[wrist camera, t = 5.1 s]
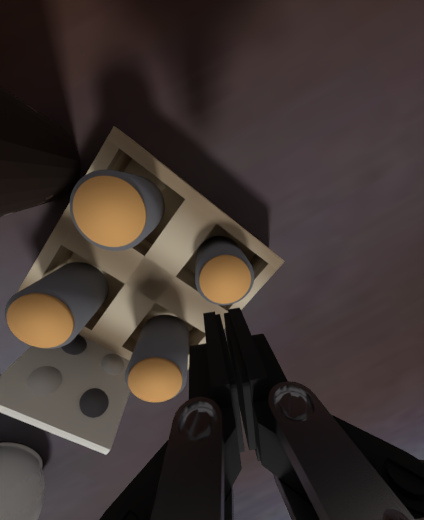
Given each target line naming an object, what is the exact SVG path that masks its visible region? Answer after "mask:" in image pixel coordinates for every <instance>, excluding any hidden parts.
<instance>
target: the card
mask: <svg viewBox="0 0 424 520" xmlns="http://www.w3.org/2000/svg"><path fill="white" fill-rule="evenodd" d="M128 364H129V360H127V359H125V358H123V357H122V356H120V355H118V354H116V353H114V352H112V351H110V350H108V349H106V348H104V347H103V346H101V345H99V344H97V343H95V342H93V341H91V340H89V339H87V338H85V337H83V336H82V335H80V334H78V335H77V336H76V337H75V338H74V340H72V341H71V342H70V343H69V344H67V345H65V346H62V347H59V348H53V349H46V348H39V347H34V346H31V347H30V348H29V349H28V350H27V351H26V352H25V353H24V354H23V355H22V356H21V357H20V358H19V359H18V360H17V361H16V362H14V363H13V364H12V365H11V366H10V367H9V368H8V369H7V370H6V371H5V372H4V373H3V374H2V375H1V376H0V413H3V414H5V415H8V416H10V417H13V418H15V419H18V420H20V421H23V422H25V423H28V424H30V425H33V426H35V427H38V428H40V429H43V430H45V431H48V432H50V433H53V434H55V435H58V436H60V437H63V438H65V439H68V440H70V441H73V442H75V443H78V444H80V445H83V446H85V447H88V448H90V449H93V450H95V451H98V452H100V453H103V454H105V455H107V454H108V452H109V451H110V450H111V447H112V444H113V441H114V438H115V435H116V432H117V429H118V426H119V423H120V420H121V417H122V414H123V411H124V408H125V405H126V402H127V399H128V396H129V393H130V390H129V389H128V387H127V385H126V383H125V371H126V369H127V366H128Z"/></svg>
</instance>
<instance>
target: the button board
mask: <svg viewBox="0 0 424 520" xmlns="http://www.w3.org/2000/svg"><path fill="white" fill-rule="evenodd" d="M105 169H107V170H115V171H120V172H125V173H130V174H135V175H139V176H143V177H145V178H147V179H149V180H150V181H152V182H153V183H154V184H155V185H156V186H157V187H158V188H159V190H160V192H161V193H162V196H163V198H164V203H165V211H164V216H163V218H162V221H161V222H160V224H159V225H158V226H157V227H156V228H155V229H154V230H153V231H152V232H151V233H150V234H149V235H148V236H147V237H145V238H144V239H143V240H142V241H141V242H140V243H139V244H137V245H136V246H134V247H132V248H130V249H127V250H122V251H111V250H106V249H102V248H100V247H97V246H95V245H94V244H92V243H90V242H89V241H88V240H86V239H85V238H84V237H83V236H82V235H81V233H80V232H79V231H78V229H77V228H76V226H75V224H74V222H73V220H72V217H71V213H70V203H69V204H68V206H67V208H66V209H65V211H64V213H63V215H62V216H61V218H60V220H59V221H58V223H57V225H56V227H55V228H54V230H53V232H52V234H51V235H50V237H49V239H48V240H47V242H46V244H45V246H44V247H43V249H42V251H41V252H40V254H39V256H38V258H37V259H36V261H35V263H34V265H33V266H32V268H31V270H30V271H29V273H28V275H27V277H26V278H25V280H24V282H23V283H22V285H21V287H20V289H19V290H18V292H19V291H21V290H23V289H24V288H26V287H28V286H30V285H31V284H33V283H35V282H36V281H38V280H40V279H42V278H43V277H45V276H47V275H48V274H50V273H52V272H54V271H55V270H57V269H59V268H60V267H62V266H64V265H66V264H68V263H72V262H84V263H88V264H90V265H92V266H94V267H96V268H97V269H99V270H100V271H101V272H102V273H103V274H104V276H105V277H106V279H107V281H108V285H109V294H108V297H107V299H106V300H105V302H104V303H103V304H102V305H101V307H100V308H99V309H98V310H97V311H96V313H95V314H94V315H93V316H92V318H91V319H90V320H89V321H88V322H87V324H86V325H85V326H84V327H83V329H82V330H81V331H80V332H79V333H78V334H80V335H82V336H83V337H85V338H87V339H89V340H91V341H93V342H95V343H97V344H99V345H101V346H103V347H104V348H106V349H108V350H110V351H112V352H114V353H116V354H118V355H120V356H122V357H123V358H125V359H127V360H129V361H130V359H131V356H132V353H133V351H134V348H135V346H136V343H137V341H138V338H139V336H140V333H141V331H142V328H143V326H144V324H145V323H146V322H147V321H148V320H149V319H151V318H152V317H155V316H158V315H172V316H175V317H177V318H179V319H181V320H182V321H183V322H184V323H185V324H186V326H187V327H188V330H189V348H188V365H187V370H188V369H189V349H190V346H192V345H198V344H204V343H206V337H205V327H204V316H203V313H208V312H214V311H215V314H220V316H221V320H222V324H223V328H224V329H225V321H224V313H228V309H233V308H240V309H241V310H242V309H243V307H244V306H245V305H246V304H247V303H248V302H249V301H250V300H251V298H252V297H253V296H254V295H255V294H256V293H257V292H258V291H259V290H260V288H261V287H262V286H263V285H264V284H265V283H266V282H267V281H268V279H269V278H270V277H271V276H272V275H273V274H274V273H275V272H276V270H277V269H278V268H279V267H280V266H281V265H282V264H283V263H284V262H285V261H284V260H282V259H281V258H280V257H279V256H278V255H277V254H275V253H274V252H273V251H272V250H271V249H270V248H268V247H267V246H266V245H265V244H263V243H262V242H261V241H260V240H258V239H257V238H256V237H255V236H253V235H252V234H251V233H249V232H248V231H247V230H246V229H244V228H243V227H242V226H241V225H239V224H238V223H237V222H236V221H234V220H233V219H232V218H231V217H229V216H228V215H227V214H226V213H224V212H223V211H222V210H221V209H219V208H218V207H217V206H216V205H214V204H213V203H212V202H211V201H209V200H208V199H207V198H205V197H204V196H203V195H202V194H200V193H199V192H198V191H197V190H195V189H194V188H193V187H192V186H190V185H189V184H188V183H187V182H185V181H184V180H183V179H182V178H180V177H179V176H178V175H177V174H175V173H174V172H173V171H172V170H170V169H169V168H168V167H167V166H165V165H164V164H163V163H161V162H160V161H159V160H158V159H156V158H155V157H154V156H153V155H151V154H150V153H149V152H148V151H146V150H145V149H144V148H143V147H141V146H140V145H139V144H138V143H136V142H135V141H134V140H133V139H131V138H130V137H129V136H127V135H126V134H124V133H123V132H122V131H120V130H119V129H118V128H116V127H115V126H114V127H113V129H112V130H111V132H110V134H109V135H108V137H107V139H106V141H105V142H104V144H103V146H102V147H101V149H100V151H99V153H98V154H97V156H96V158H95V160H94V161H93V163H92V165H91V166H90V168H89V170H88V172H87V173H86V175H87V174H88V173H90V172H93V171H97V170H105ZM214 236H225V237H228V238H230V239H232V240H233V241H235V242H236V243H237V245H238V246H239V247H240V249H241V250H242V252H243V253H244V255H245V256H246V258H247V259H248V260H249V262H250V264H251V265H252V267H253V271H254V283H253V286H252V288H251V290H250V292H249V293H248V294H247V295H246V296H245V297H244V298H243V299H242V300H240V301H239V302H237V303H234V304H231V305H216V304H213V303H210V302H209V301H207V300H205V299H204V298H203V297H202V296H201V295H200V293H199V292H198V290H197V287H196V284H195V266H196V253H197V250H198V248H199V246H200V245H201V244H202V243H203V242H204V241H205V240H207V239H209V238H211V237H214ZM18 292H17V293H18Z"/></svg>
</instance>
